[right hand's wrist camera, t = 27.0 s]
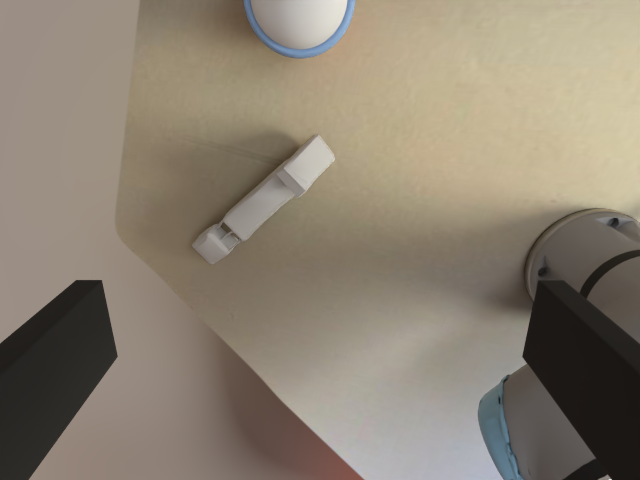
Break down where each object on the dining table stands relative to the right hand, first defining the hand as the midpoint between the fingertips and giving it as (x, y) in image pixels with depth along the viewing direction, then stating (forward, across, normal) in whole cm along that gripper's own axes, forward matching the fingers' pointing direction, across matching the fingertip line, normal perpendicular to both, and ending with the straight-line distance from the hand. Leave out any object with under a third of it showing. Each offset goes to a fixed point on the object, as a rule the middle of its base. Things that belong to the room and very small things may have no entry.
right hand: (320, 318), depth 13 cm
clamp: (+38, -7, -7) cm, 39 cm away
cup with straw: (+38, -2, +13) cm, 40 cm away
